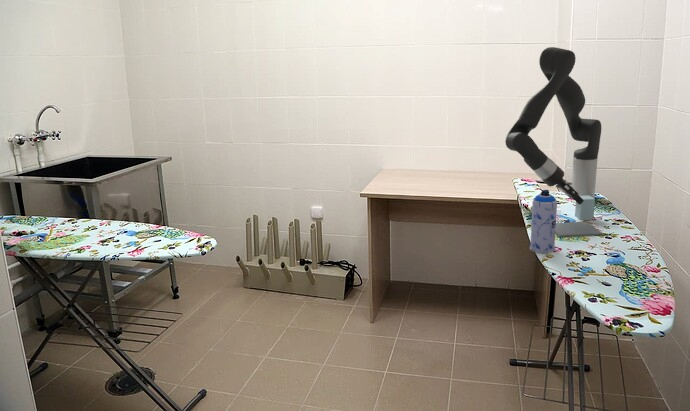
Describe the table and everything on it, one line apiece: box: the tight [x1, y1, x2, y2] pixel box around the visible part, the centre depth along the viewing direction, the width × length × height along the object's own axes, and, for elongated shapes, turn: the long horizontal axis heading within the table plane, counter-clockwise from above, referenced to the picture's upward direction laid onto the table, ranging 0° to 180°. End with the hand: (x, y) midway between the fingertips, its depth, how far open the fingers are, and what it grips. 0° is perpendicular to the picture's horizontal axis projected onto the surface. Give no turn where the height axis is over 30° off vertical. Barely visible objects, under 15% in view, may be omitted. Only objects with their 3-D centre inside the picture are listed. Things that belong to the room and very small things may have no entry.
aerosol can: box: [529, 189, 558, 254], centre depth 185 cm, size 8×8×20 cm
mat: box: [555, 221, 604, 238], centre depth 203 cm, size 13×15×1 cm
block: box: [574, 195, 596, 221], centre depth 215 cm, size 5×5×8 cm
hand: (577, 199), depth 214 cm, fingers open, 8 cm apart
